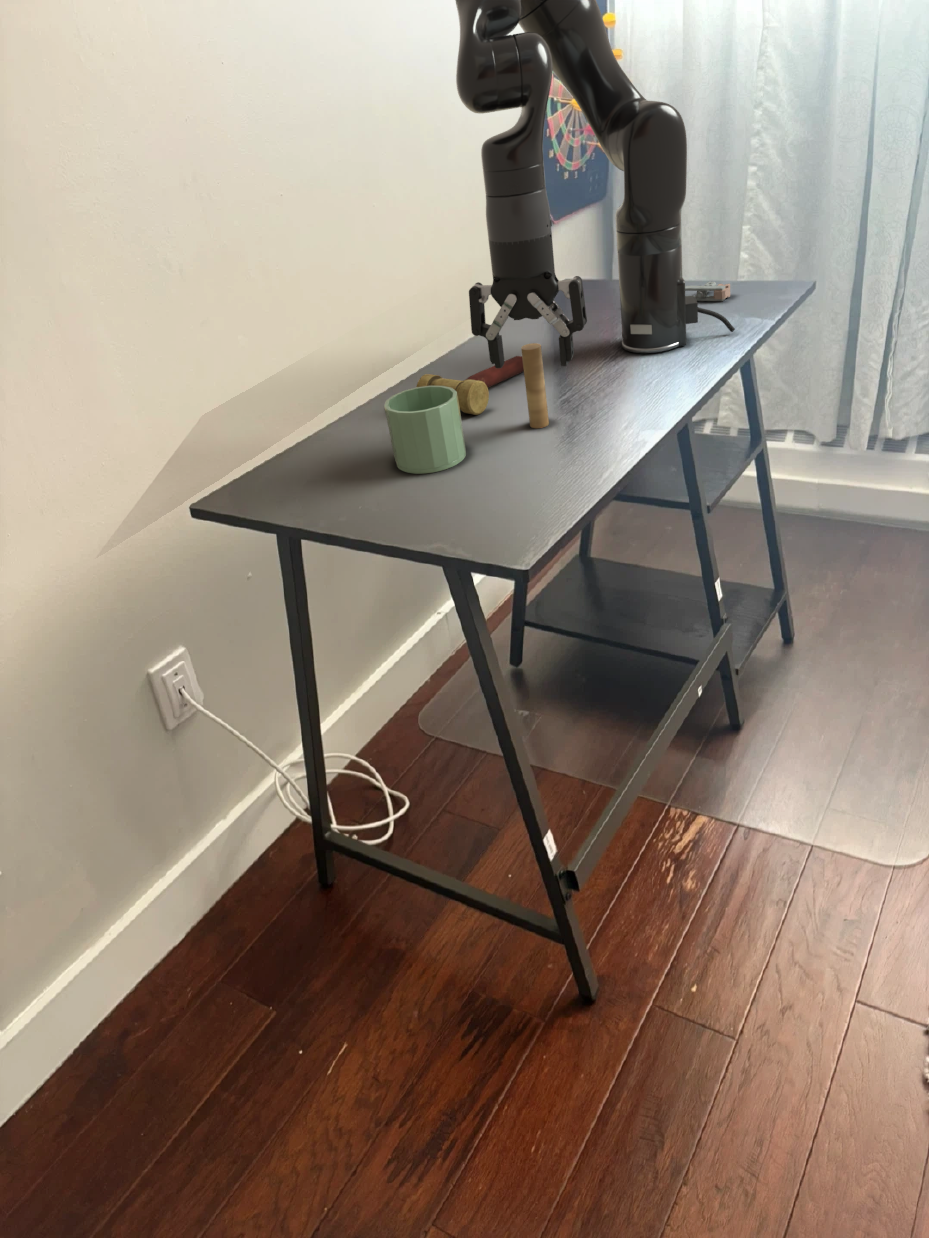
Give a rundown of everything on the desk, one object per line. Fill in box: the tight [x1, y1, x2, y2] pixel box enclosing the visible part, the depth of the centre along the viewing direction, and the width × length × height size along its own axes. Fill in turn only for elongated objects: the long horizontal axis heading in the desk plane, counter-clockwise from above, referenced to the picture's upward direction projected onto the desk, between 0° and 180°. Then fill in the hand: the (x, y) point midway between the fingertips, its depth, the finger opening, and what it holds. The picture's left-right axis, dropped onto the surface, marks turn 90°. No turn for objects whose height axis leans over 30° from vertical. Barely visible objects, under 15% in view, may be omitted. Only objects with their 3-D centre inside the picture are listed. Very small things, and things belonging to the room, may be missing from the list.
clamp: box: [685, 281, 731, 302], centre depth 164 cm, size 15×2×10 cm
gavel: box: [415, 355, 524, 416], centre depth 140 cm, size 21×5×10 cm
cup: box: [383, 386, 467, 475], centre depth 120 cm, size 9×9×8 cm
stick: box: [520, 342, 550, 429], centre depth 124 cm, size 2×2×10 cm
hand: (532, 365), depth 122 cm, fingers open, 8 cm apart
